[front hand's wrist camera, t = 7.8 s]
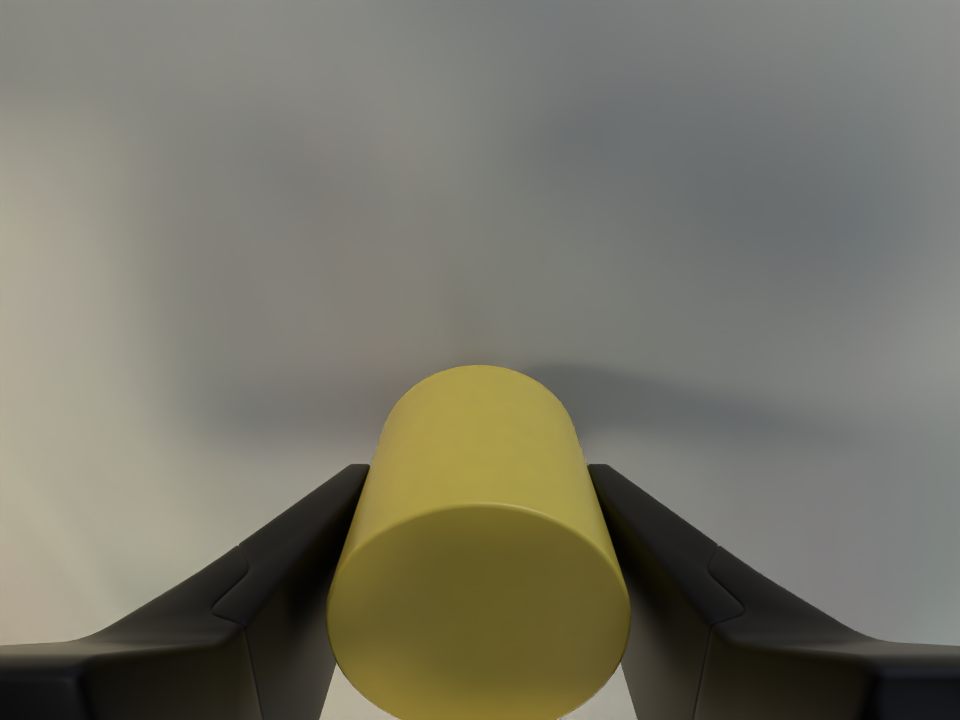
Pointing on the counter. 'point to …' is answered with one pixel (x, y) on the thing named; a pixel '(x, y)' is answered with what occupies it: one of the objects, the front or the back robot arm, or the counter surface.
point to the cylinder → (478, 559)
